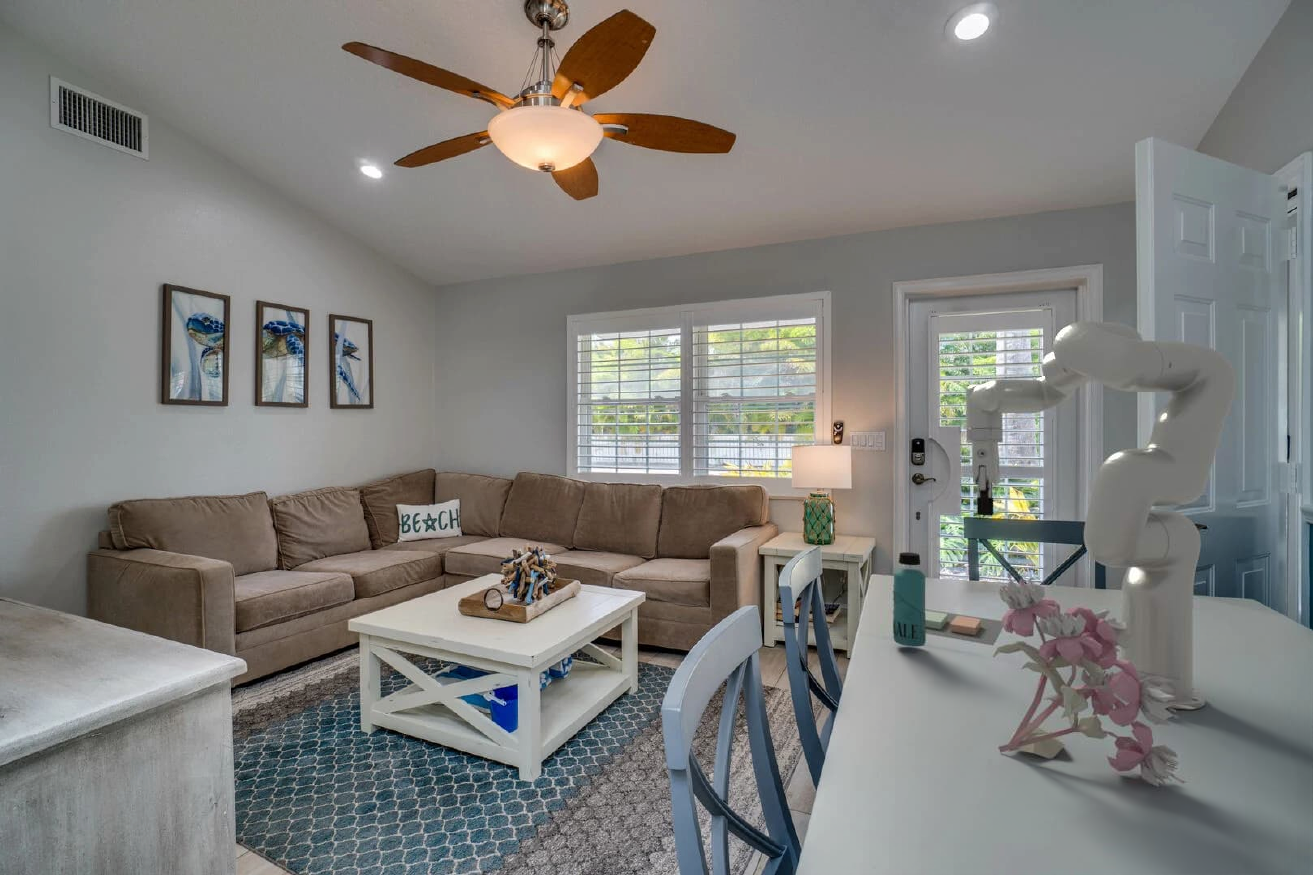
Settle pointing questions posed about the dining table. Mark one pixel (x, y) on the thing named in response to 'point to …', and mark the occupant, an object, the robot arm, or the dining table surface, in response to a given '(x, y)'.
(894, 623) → the beverage bottle
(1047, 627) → the flower
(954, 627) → the tile
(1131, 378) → the robot arm
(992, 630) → the mat
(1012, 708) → the dining table surface
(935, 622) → the tile
